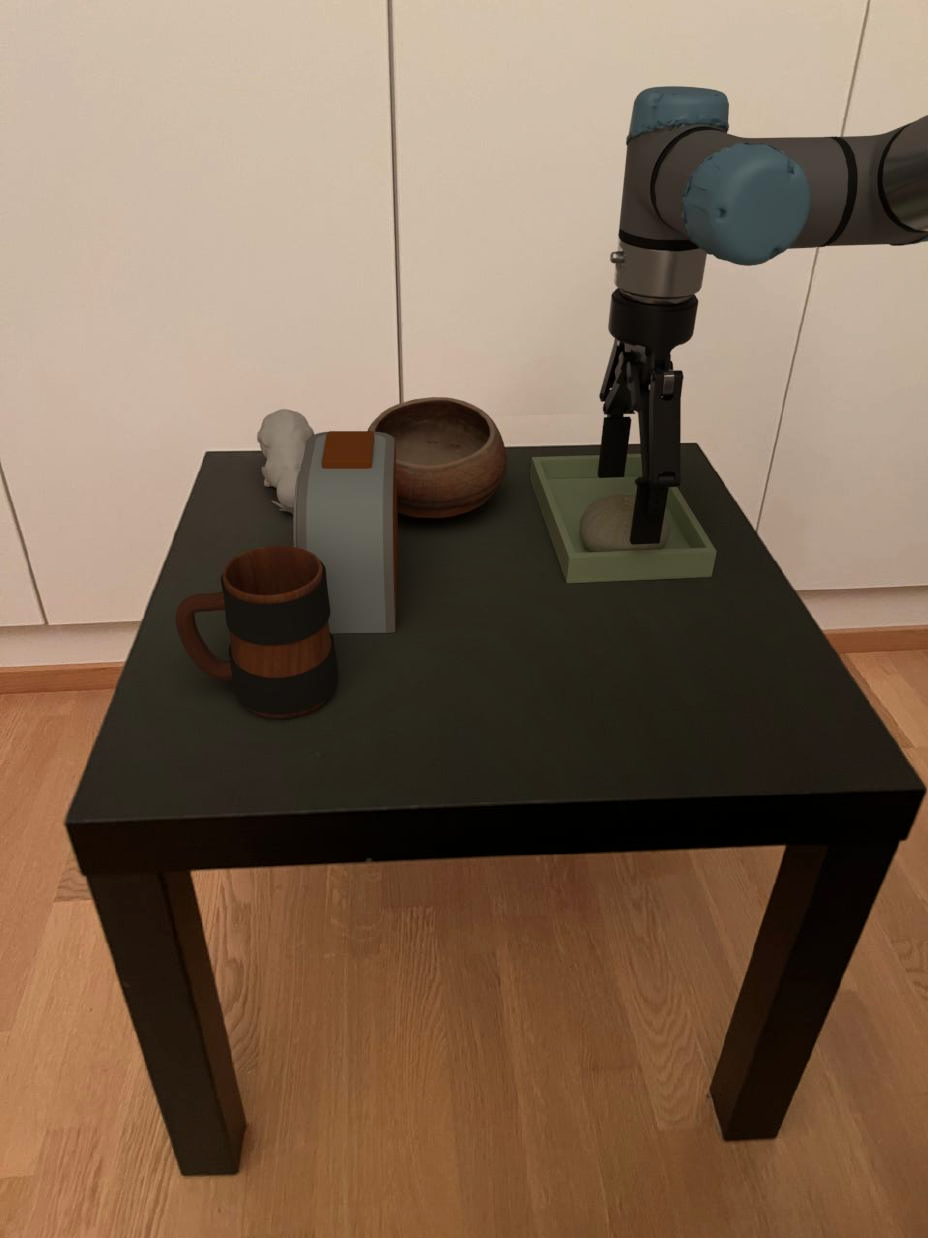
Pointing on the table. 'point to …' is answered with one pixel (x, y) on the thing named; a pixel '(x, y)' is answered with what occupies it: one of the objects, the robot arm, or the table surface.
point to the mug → (269, 631)
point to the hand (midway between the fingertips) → (626, 507)
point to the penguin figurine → (283, 452)
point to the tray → (563, 502)
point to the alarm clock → (351, 525)
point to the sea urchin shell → (614, 526)
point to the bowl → (443, 455)
